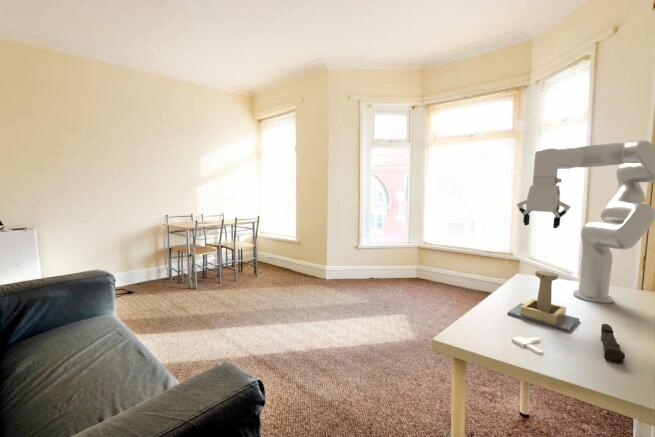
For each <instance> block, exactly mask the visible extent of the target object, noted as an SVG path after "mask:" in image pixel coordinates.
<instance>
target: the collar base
mask: <svg viewBox="0 0 655 437" xmlns="http://www.w3.org/2000/svg"><path fill="white" fill-rule="evenodd" d="M566 312H567V307H566V306H562V305H557V304H553V303H551V307H550V311H549V313H548V312H544V311H540V310H538V308H537V299H534V298H531V299H530V300H528V301H526V302H525V303H522V302H520V303H519V304H517V305H516V306H514V307H513V308H511V309H510V310H508V311H507V316H511V317H514V318H518V319H520V320H525V321H529V322H531V323H535V324H538V325H541V326H545V327H548V328H551V329H555V330H559V331H562V332H565V333H570V332H571V331H572V330H573V329H574V328H575V327H576V325H578V324H579V322H580V318H578V317H575V316H571V315H567V314H566Z"/></svg>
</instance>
